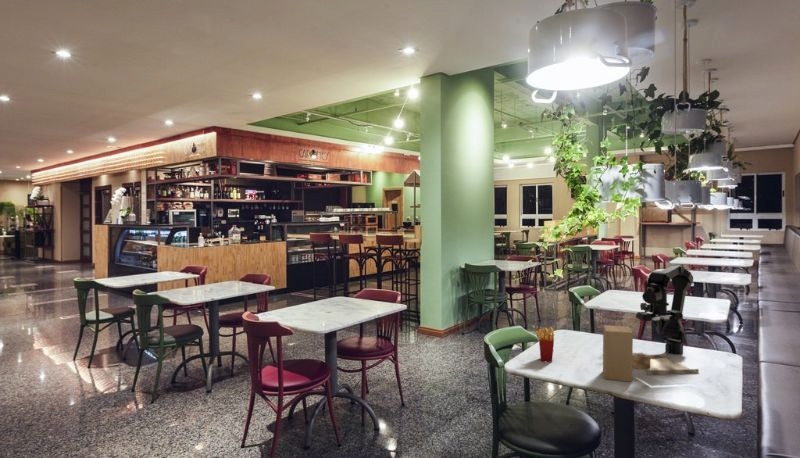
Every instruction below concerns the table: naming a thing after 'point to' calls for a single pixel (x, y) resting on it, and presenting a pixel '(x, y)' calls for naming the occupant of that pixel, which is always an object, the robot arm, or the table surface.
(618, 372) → the wooden block
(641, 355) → the walnut block
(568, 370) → the table surface
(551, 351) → the french fries
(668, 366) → the trap board
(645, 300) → the robot arm
